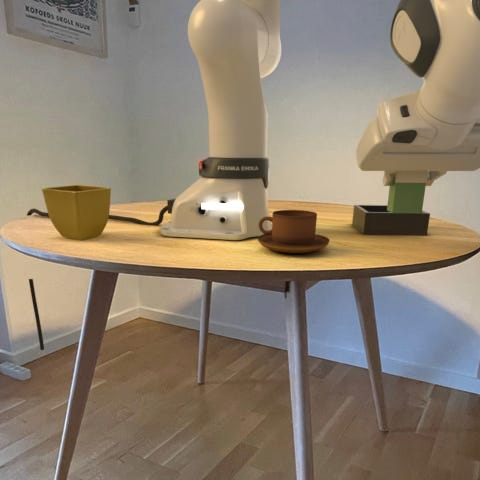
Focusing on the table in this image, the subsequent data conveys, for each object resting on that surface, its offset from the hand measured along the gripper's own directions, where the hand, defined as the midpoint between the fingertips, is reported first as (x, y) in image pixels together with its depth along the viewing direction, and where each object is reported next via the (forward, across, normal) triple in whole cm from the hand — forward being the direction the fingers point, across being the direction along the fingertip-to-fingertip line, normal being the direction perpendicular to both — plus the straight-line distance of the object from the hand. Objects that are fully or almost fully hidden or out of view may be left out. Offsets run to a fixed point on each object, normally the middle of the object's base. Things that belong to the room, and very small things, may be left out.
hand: (405, 183), depth 80 cm
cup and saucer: (+6, +19, +10) cm, 22 cm away
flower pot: (+14, +58, +2) cm, 59 cm away
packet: (+3, 0, +4) cm, 5 cm away
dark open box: (+19, -4, -4) cm, 20 cm away
